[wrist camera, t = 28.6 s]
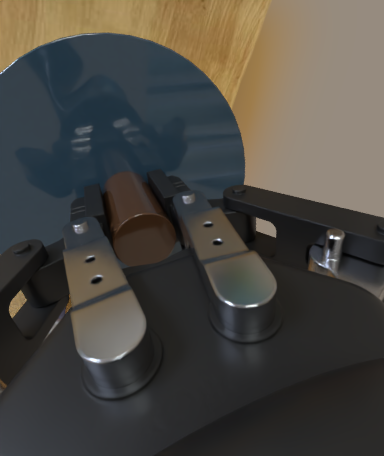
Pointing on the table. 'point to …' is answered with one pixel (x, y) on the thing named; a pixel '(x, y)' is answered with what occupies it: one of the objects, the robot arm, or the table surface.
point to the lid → (109, 139)
